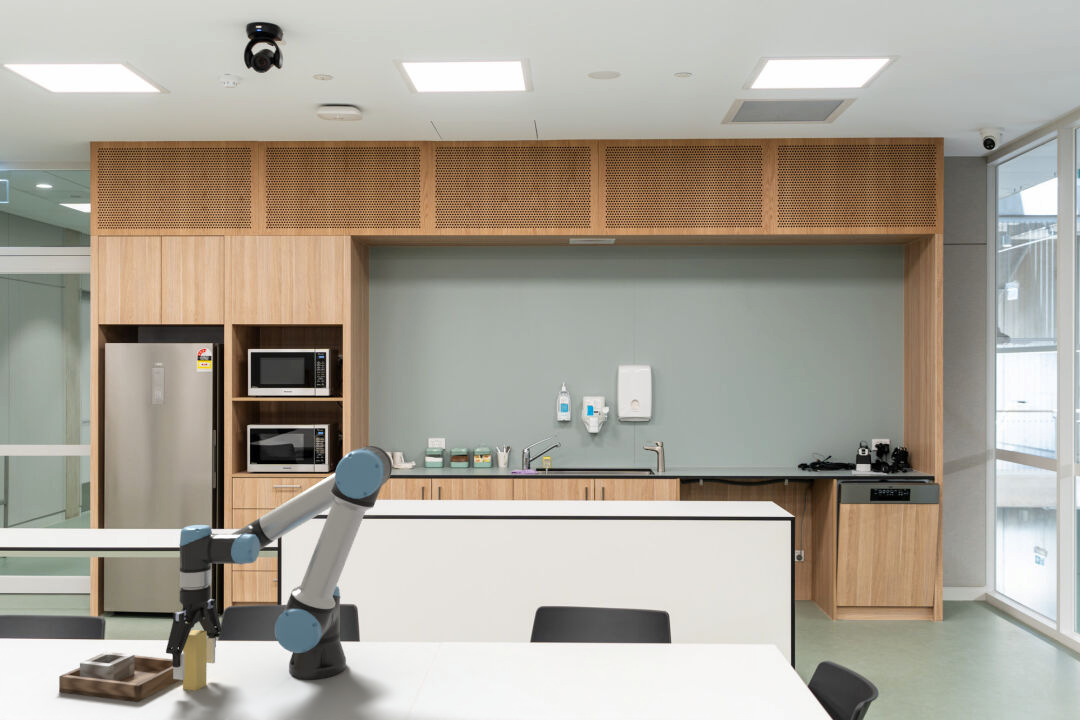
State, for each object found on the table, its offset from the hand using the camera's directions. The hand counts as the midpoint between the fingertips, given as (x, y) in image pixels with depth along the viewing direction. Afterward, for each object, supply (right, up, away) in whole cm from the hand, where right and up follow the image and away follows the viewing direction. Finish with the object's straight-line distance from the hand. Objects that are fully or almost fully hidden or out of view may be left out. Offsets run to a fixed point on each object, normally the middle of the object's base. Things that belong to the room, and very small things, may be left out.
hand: (194, 670), depth 214 cm
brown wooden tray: (-19, -4, +2) cm, 20 cm away
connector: (0, -4, 0) cm, 4 cm away
